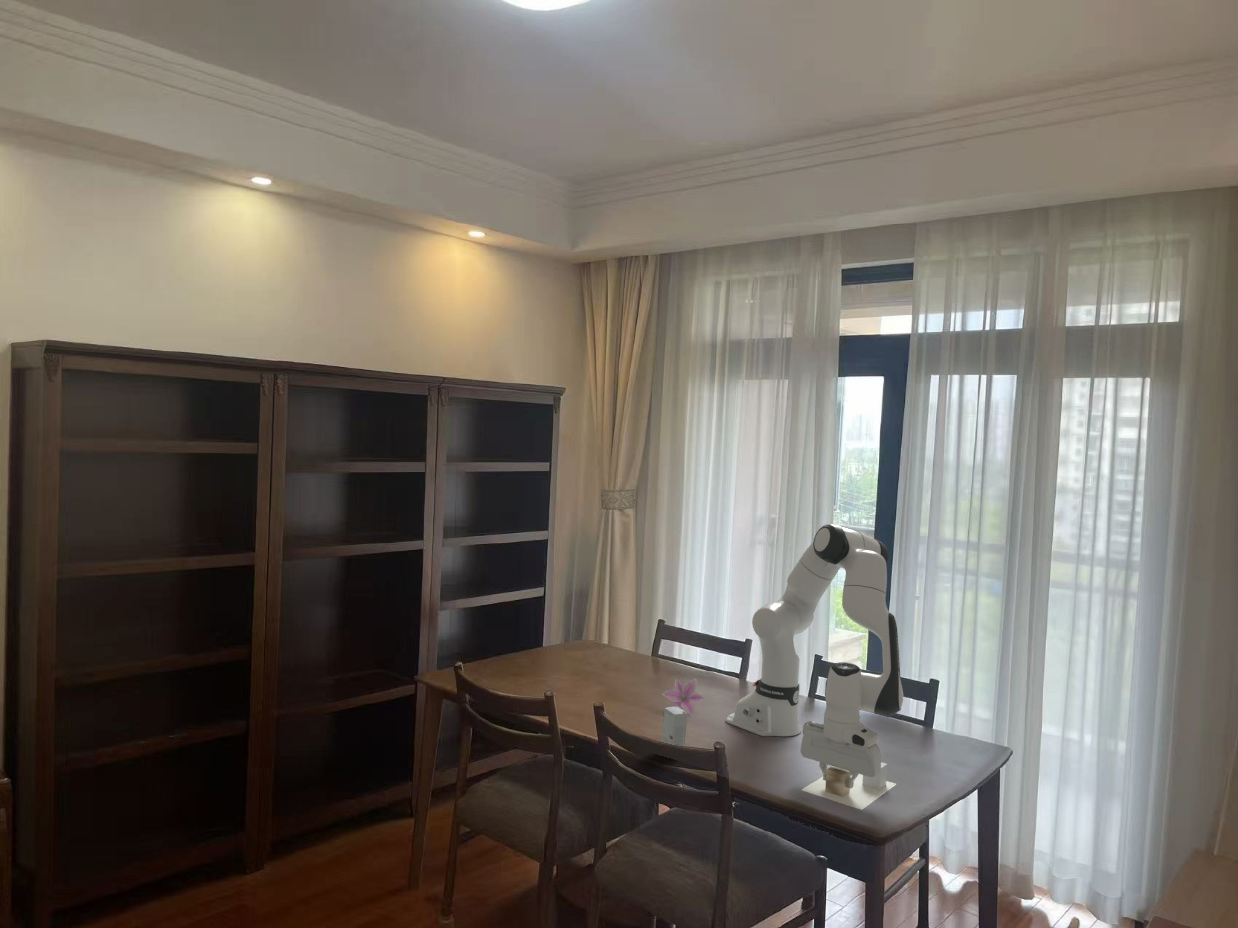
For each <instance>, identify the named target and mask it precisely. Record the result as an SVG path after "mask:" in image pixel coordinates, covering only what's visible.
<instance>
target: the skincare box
mask: <svg viewBox="0 0 1238 928" xmlns="http://www.w3.org/2000/svg"><path fill="white" fill-rule="evenodd" d="M688 715H689V714H688V713H687V712H686V711H685V710H684V709H683V708H679V707H678V706H677V707H673V706H668V707H665V708H664V716H663V727H662V740H661V743H662V742H664V743H668V744H672V745H678V746H684V747H685V745H686V737H687V736H686V734H687V726H688V725H687V724H688Z"/></svg>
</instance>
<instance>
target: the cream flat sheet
mask: <svg viewBox="0 0 1238 928" xmlns="http://www.w3.org/2000/svg"><path fill="white" fill-rule="evenodd" d="M851 777H852V776H851ZM862 781H863V775H861V774H859V775H858V776H857V777H856V779H855V780H854V785H853V788H851V789H850V792H848V793H847V794H845V795H844V796H842V797H841V796H838V795H835V794H832V793H829V792H826V791H825V786H826V781H825V780H823V776H821V777H820V778H818V779H816V780H815V781H814V782H811V783H810V784H809V785H807V786H805V787H803V788H801V791H803V792H805V793H809V794H811V795H815V796H817V797H821V798H824V799H826V800H830V801H833V802H836V803H839V804H842V805H845V806H848V807H850V808H851V807H852V808H854V809H857V810H860V811H863V810H864V809H866V807H868V806H869V805H871V804H872V803H874V802H875V801H876V800H877V799H879V798H881V796H883V795H884V794H885V793H887V792H888V791H890V790H891V789H892V788H894V787H895V786H896V785H897V783H895V782H891V781H888V780H886V785H885V786H884V787H883V788H881V789H880V790H877V789H874V788H871V787H868V786H865V785H862Z"/></svg>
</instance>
